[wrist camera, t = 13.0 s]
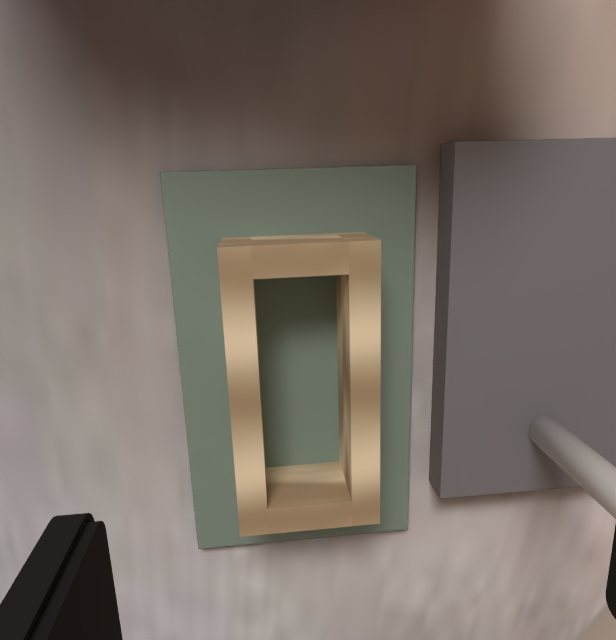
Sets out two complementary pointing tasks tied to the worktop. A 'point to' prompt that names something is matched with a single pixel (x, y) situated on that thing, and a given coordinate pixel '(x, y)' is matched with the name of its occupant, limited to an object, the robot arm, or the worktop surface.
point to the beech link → (353, 383)
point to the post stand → (525, 319)
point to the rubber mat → (288, 328)
